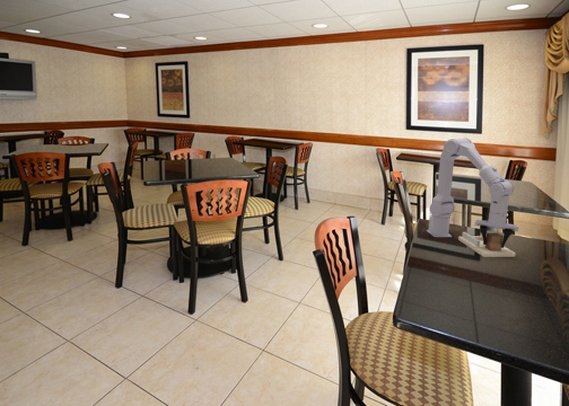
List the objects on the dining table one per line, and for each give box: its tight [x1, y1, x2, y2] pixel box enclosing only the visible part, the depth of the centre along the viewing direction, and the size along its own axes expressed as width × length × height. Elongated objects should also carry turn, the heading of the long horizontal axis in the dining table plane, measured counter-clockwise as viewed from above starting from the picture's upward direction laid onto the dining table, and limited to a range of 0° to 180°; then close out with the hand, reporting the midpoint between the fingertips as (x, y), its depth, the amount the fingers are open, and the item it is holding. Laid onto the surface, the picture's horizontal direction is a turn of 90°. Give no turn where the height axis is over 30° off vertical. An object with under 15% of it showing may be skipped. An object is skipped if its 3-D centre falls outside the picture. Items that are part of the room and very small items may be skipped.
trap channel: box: [457, 231, 516, 258], centre depth 144 cm, size 20×12×4 cm, turn 0°
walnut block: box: [485, 232, 504, 251], centre depth 138 cm, size 4×4×6 cm
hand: (493, 245), depth 138 cm, fingers closed on walnut block, 5 cm apart
